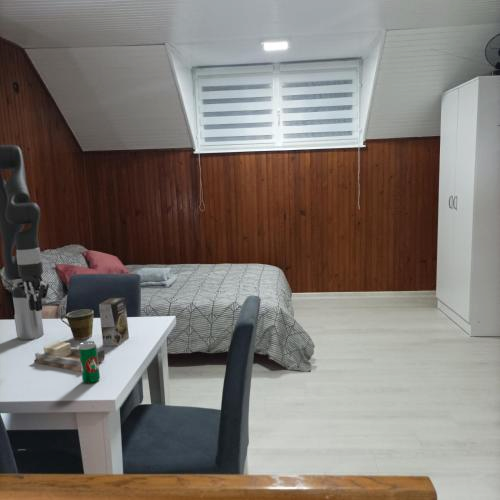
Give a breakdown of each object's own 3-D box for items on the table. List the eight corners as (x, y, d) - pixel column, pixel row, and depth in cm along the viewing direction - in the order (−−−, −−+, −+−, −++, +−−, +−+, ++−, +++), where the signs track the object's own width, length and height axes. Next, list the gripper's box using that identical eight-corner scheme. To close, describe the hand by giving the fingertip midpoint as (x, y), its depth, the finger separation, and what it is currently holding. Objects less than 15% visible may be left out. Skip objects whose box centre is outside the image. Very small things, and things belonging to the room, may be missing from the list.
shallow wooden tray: (34, 362, 154) (32, 351, 153) (57, 351, 163) (56, 341, 162) (84, 372, 144) (82, 360, 143) (106, 360, 153) (105, 348, 152)
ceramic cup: (100, 332, 181) (97, 308, 179) (89, 341, 171) (86, 316, 170) (69, 333, 182) (66, 309, 181) (57, 342, 173) (53, 317, 171)
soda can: (85, 377, 140) (81, 341, 138) (101, 376, 140) (97, 339, 138) (80, 385, 135) (76, 347, 133) (97, 383, 135) (93, 345, 133)
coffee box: (118, 346, 165) (114, 304, 162) (102, 346, 166) (97, 303, 164) (129, 337, 174) (125, 297, 171) (114, 337, 175) (110, 297, 172)
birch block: (45, 358, 154) (43, 347, 153) (59, 352, 159) (57, 341, 159) (57, 360, 152) (56, 349, 151) (71, 354, 157) (70, 343, 156)
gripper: (6, 262, 153) (13, 311, 156) (34, 264, 147) (41, 315, 150) (25, 258, 160) (31, 305, 163) (53, 260, 154) (59, 308, 157)
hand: (36, 310), depth 156 cm, fingers closed
